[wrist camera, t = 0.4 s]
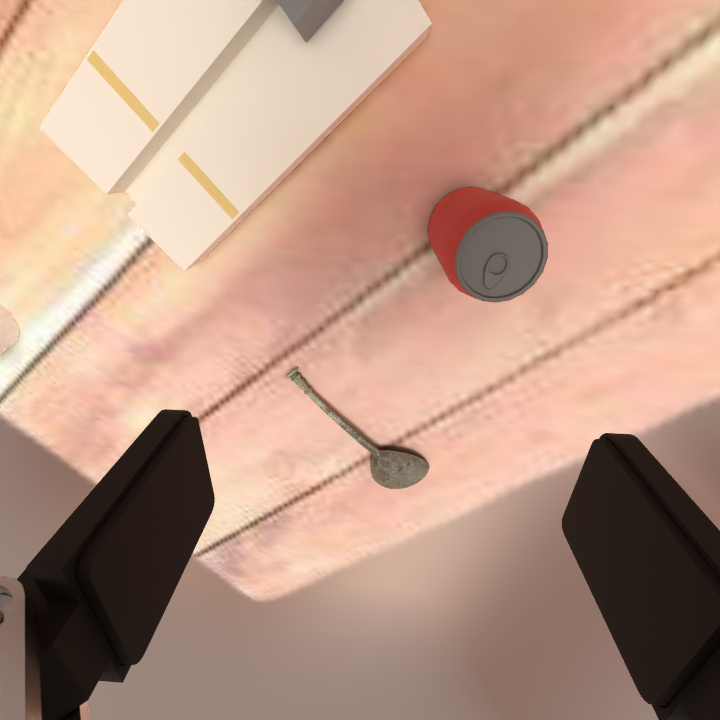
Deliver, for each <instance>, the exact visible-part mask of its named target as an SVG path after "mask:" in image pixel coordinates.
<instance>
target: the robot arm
mask: <svg viewBox="0 0 720 720" xmlns="http://www.w3.org/2000/svg"><path fill="white" fill-rule="evenodd" d="M214 500H215V498H214V492H213V487H212V482H211V478H210V473H209V468H208V464H207V459H206V454H205V449H204V445H203V440H202V435H201V430H200V426H199V422H198V419H197V418H196V417H192V415H191V413H190V412H189V411H185V410H167V409H165V410H162V411H160V412H159V413H158V414H157V416H156V417H155V418H154V419H153V420H152V421H151V423H150V424H149V425H148V426H147V427H146V428H145V430H144V431H143V432H142V433H141V434H140V435H139V437H138V438H137V439H136V440H135V441H134V442H133V444H132V445H131V446H130V447H129V448H128V449H127V450H126V452H125V453H124V454H123V455H122V456H121V457H120V459H119V460H118V461H117V462H116V463H115V464H114V466H113V467H112V468H111V469H110V470H109V471H108V473H107V474H106V475H105V476H104V477H103V478H102V480H101V481H100V482H99V483H98V484H97V485H96V487H95V488H94V489H93V490H92V491H91V492H90V494H89V495H88V496H87V497H86V498H85V499H84V501H83V502H82V503H81V504H80V505H79V506H78V508H77V509H76V510H75V511H74V512H73V513H72V514H71V516H70V517H69V518H68V519H67V520H66V521H65V523H64V524H63V525H62V526H61V527H60V528H59V530H58V531H57V532H56V533H55V534H54V535H53V537H52V538H51V539H50V540H49V541H48V542H47V544H46V545H45V546H44V547H43V548H42V549H41V551H40V552H39V553H38V554H37V555H36V556H35V558H34V559H33V560H32V561H31V562H30V563H29V564H28V566H27V568H26V569H25V570H24V572H23V573H22V574H21V575H20V576H19V578H18V579H17V580H16V579H15V578H10V577H4V576H0V720H89V712H88V703H87V700H88V699H89V697H90V696H91V693H92V692H93V690H94V688H95V686H96V684H97V683H98V681H110V682H123V681H124V679H125V677H126V675H127V673H128V671H129V669H130V666H131V665H135V664H137V663H138V662H139V661H140V660H141V659H142V657H143V655H144V653H145V651H146V649H147V647H148V645H149V643H150V641H151V639H152V637H153V635H154V632H155V630H156V628H157V626H158V624H159V622H160V620H161V618H162V616H163V614H164V611H165V609H166V607H167V605H168V603H169V601H170V599H171V597H172V595H173V593H174V591H175V588H176V586H177V584H178V582H179V580H180V578H181V576H182V574H183V572H184V569H185V567H186V565H187V563H188V561H189V559H190V557H191V555H192V553H193V551H194V549H195V546H196V544H197V542H198V540H199V538H200V536H201V534H202V532H203V530H204V528H205V525H206V523H207V521H208V519H209V517H210V515H211V513H212V510H213V507H214ZM562 529H563V532H564V535H565V537H566V539H567V541H568V543H569V545H570V548H571V550H572V552H573V554H574V556H575V558H576V560H577V562H578V565H579V567H580V569H581V571H582V573H583V575H584V577H585V579H586V582H587V584H588V586H589V588H590V590H591V592H592V594H593V596H594V598H595V601H596V603H597V605H598V607H599V609H600V611H601V613H602V615H603V617H604V619H605V622H606V624H607V626H608V628H609V630H610V632H611V634H612V637H613V639H614V641H615V643H616V645H617V647H618V649H619V651H620V654H621V656H622V658H623V660H624V662H625V664H626V666H627V668H628V670H629V673H630V675H631V677H632V679H633V681H634V683H635V685H636V687H637V689H638V691H639V693H640V695H641V697H642V698H643V699H644V700H645V701H646V702H647V703H648V704H652V706H653V708H654V710H655V712H656V715H657V717H658V719H659V720H720V531H719V529H718V528H717V527H716V526H715V525H714V524H713V523H712V522H711V521H710V520H709V518H708V517H707V516H706V515H705V514H704V513H703V511H702V510H701V509H700V508H699V507H698V506H697V505H696V504H695V502H694V501H693V500H692V499H691V498H690V497H689V496H688V495H687V493H686V492H685V491H684V490H683V489H682V488H681V487H680V486H679V485H678V483H677V482H676V481H675V480H674V479H673V478H672V476H671V475H670V474H669V473H668V472H667V471H666V470H665V469H664V467H663V466H662V465H661V464H660V463H659V462H658V461H657V460H656V459H655V457H654V456H653V455H652V454H651V453H650V452H649V451H648V450H647V448H646V447H645V446H644V445H643V444H642V443H641V441H640V440H639V439H638V438H637V437H635V436H634V435H631V434H613V433H605V434H603V435H602V436H601V437H600V438H599V439H595V440H594V441H593V443H592V445H591V447H590V450H589V452H588V455H587V457H586V460H585V462H584V465H583V467H582V470H581V472H580V475H579V478H578V480H577V483H576V485H575V487H574V490H573V492H572V495H571V497H570V500H569V502H568V505H567V508H566V510H565V513H564V515H563V518H562Z"/></svg>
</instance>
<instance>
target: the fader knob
mask: <svg viewBox="0 0 720 720" xmlns="http://www.w3.org/2000/svg"><path fill="white" fill-rule="evenodd" d="M276 1H277V2H278V4H279V5H280V7H281V8H282V9H283V11H284V12H285V14H286V15H287V17H288V18H289V19H290V21H291V22H292V24H293V25H294V27H295V28H296V29H297V31H298V32H299V34H300V35H301V36H302V38H303V39H304V41H305V42H307V41H308V40H309V39H310V38H311V36H312V35H313V34H314V33H315V32H316V31H317V30H318V29H319V27H320V26H321V25H322V24H323V23H324V22H325V21H326V20H327V18H328V17H329V16H330V15H331V14H332V13H333V12H334V10H335V9H336V8H337V7H338V6H339V5H340V4H341V3H342V1H343V0H276Z"/></svg>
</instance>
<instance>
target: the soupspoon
mask: <svg viewBox="0 0 720 720" xmlns="http://www.w3.org/2000/svg"><path fill="white" fill-rule="evenodd" d="M297 370H298V367H297V368H295V369H294V370H292V371H291V372H290V373H289V374H288V375H287V376H286V377H285V378H289V377H291V378H292V382H295V383H296V384H297V385H298V387H299V388H301V389H303V390H304V394H307V395H308V396H309V397H310V398H311V399H312V400H313V401H314V402H315V403H316V404H317V405H318V406H319V407H320V408H321V409H322V410H323V411H324V412H325V413H326V414H327V415H329V416H330V417H331V418H332V419H333V420H334V421H335V422H336V423H337V424H338V425H340V426H341V427H342V428H343V429H344V430H345V431H346V432H347V433H349V434H350V435H351V436H352V437H353V438H354V439H355V440H356V441H357V442H358V443H360V444H361V445H362V446H363V447H364V448H366V449H367V450H368V451H369V452H371V453H372V454H373V457H372V460H371V465H370V466H371V467H370V468H371V473H372V477H373V478H374V480H375V481H376V482H377V483H378V484H380V485H381V486H383V487H386V488H390V489H402V488H407V487H410V486H412V485H414V484H416V483H418V482H419V481H421V480H422V479H423V478H424V477H425V476H426V474H427V473H428V470H429V465H428V463H427V462H426V461H425V460H423V459H421V458H419V457H417V456H415V455H412V454H408V453H404V452H397V451H390V450H379V449H377V448H376V447H374V446H373V445H372V444H370V443H369V442H368V441H366V440H365V439H364V438H363V437H362V436H360V435H359V434H358V433H357V432H356V431H354V430H353V429H352V428H351V427H350V426H349V425H348V424H347V423H345V422H344V421H343V420H342V419H341V418H340V417H339V416H337V415H336V414H335V413H334V412H333V411H332V410H331V409H330V408H329V407H328V406H326V405H325V404H324V403H323V402H322V401H321V400H320V399H319V398H318V397H317V396H316V395H315V394H314V393H313V392H312V389H311V388H308V387H307V384H306V382H305V381H304V380H303V379H302V378H301V375H300V374H297Z"/></svg>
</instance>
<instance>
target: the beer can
mask: <svg viewBox="0 0 720 720" xmlns="http://www.w3.org/2000/svg"><path fill="white" fill-rule="evenodd" d="M428 233H429V241H430V244H431V246H432V248H433V250H434V252H435V254H436V256H437V258H438V260H439V262H440V264H441V266H442V267H443V269H444V271H445V273H446V275H447V277H448V279H449V281H450V282H451V283H452V284H453V285H454V286H455V287H456V288H457V289H458V290H459V291H461V292H463V293H465V294H467V295H469V296H471V297H473V298H476V299H480V300H482V301H488V302H501V301H507V300H511V299H513V298H515V297H517V296H519V295H521V294H523V293H524V292H525V291H527V290H528V289H529V288H530V287H531V286H533V285H534V284H535V282H536V281H537V279H538V278H539V277H540V275H541V274H542V272H543V270H544V267H545V264H546V261H547V258H548V242H547V240H546V237H545V234H544V231H543V229H542V227H541V224H540V221H539V219H538V218H537V217H536V216H535V215H534V213H533V212H532V211H531V210H530V209H529V208H528V207H527V206H525V205H523V204H521V203H519V202H517V201H515V200H513V199H510V198H507V197H504V196H502V195H499V194H496V193H493V192H490V191H487V190H485V189H482V188H474V187H467V188H462V189H458V190H455V191H454V192H452V193H450V194H448V195H447V196H445V197H444V198H443V199H442V200H441V201H440V203H439V204H438V205H437V206H436V207H435V209H434V211H433V213H432V215H431V217H430V222H429V228H428Z"/></svg>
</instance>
